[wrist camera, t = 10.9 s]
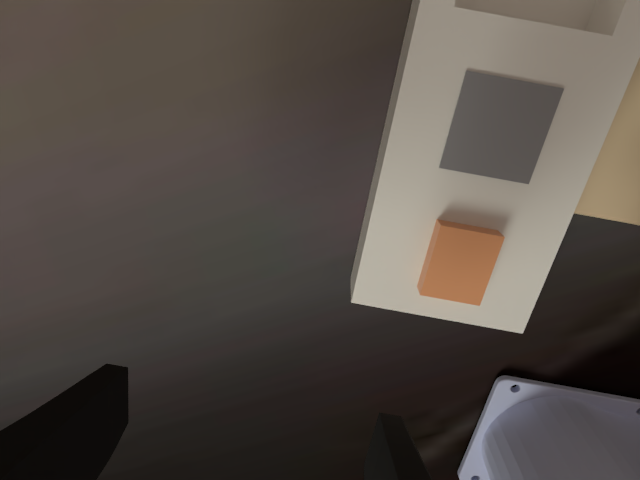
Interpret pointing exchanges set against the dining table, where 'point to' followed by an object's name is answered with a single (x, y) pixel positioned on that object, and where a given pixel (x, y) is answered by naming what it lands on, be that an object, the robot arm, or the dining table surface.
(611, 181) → the cork mat
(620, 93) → the white slotted tray
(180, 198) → the dining table surface
